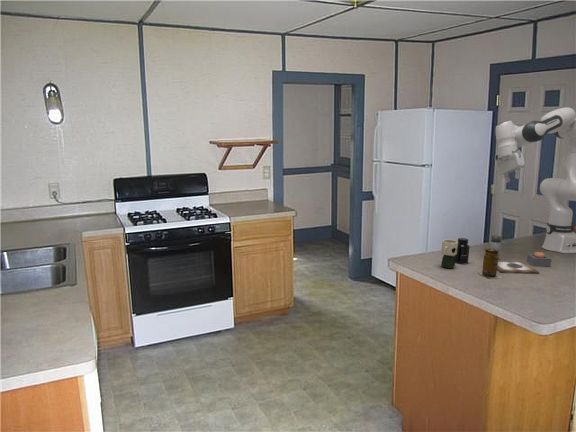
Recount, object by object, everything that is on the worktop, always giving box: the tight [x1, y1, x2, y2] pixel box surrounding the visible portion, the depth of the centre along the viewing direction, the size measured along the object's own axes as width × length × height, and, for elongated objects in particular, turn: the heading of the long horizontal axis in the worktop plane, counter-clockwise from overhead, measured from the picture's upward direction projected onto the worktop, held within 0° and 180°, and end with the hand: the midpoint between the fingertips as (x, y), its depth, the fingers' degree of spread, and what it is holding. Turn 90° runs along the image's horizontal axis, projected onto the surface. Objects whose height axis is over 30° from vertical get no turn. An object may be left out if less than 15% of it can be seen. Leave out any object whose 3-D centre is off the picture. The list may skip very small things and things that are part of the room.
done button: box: [533, 251, 545, 258], centre depth 237 cm, size 4×4×3 cm
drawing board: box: [497, 260, 540, 275], centre depth 230 cm, size 18×16×1 cm
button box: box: [525, 253, 552, 268], centre depth 237 cm, size 8×8×4 cm
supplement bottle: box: [454, 237, 471, 265], centre depth 238 cm, size 7×7×12 cm
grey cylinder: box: [489, 234, 502, 261], centre depth 244 cm, size 5×5×12 cm
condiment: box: [478, 248, 504, 279], centre depth 218 cm, size 7×8×12 cm
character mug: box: [440, 238, 458, 269], centre depth 229 cm, size 11×7×13 cm, turn 139°
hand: (512, 180), depth 236 cm, fingers open, 8 cm apart
